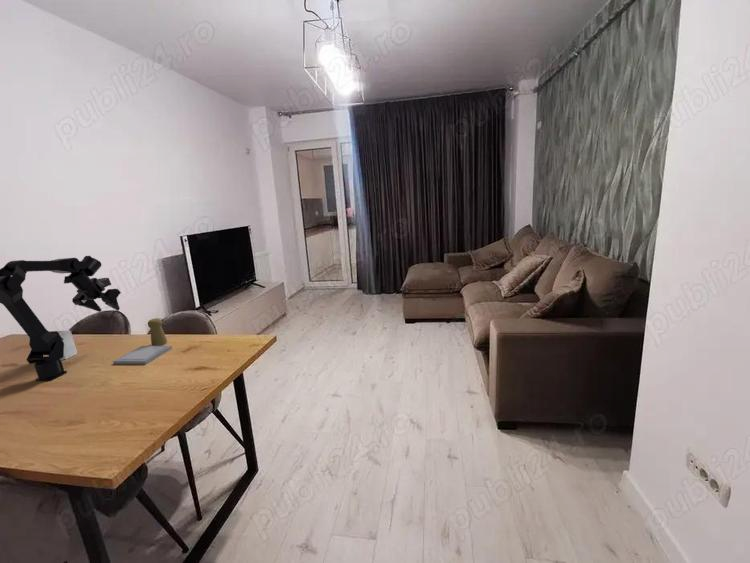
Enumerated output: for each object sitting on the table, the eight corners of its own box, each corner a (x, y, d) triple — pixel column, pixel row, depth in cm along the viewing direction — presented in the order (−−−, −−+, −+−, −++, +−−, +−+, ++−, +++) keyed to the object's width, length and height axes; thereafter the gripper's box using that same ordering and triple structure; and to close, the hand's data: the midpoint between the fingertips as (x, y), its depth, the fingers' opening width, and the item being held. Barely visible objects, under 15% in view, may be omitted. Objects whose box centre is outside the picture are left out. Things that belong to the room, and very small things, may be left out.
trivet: (146, 364, 135) (145, 360, 135) (113, 364, 138) (112, 360, 138) (172, 348, 149) (171, 345, 149) (142, 348, 151) (141, 345, 151)
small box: (78, 353, 151) (71, 330, 149) (65, 359, 146) (58, 335, 143) (60, 354, 152) (53, 330, 150) (47, 360, 147) (40, 335, 144)
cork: (152, 343, 157) (146, 318, 154) (168, 339, 159) (162, 315, 157) (150, 347, 152) (144, 322, 149) (167, 344, 154) (161, 319, 151)
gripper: (116, 269, 151) (138, 295, 161) (78, 272, 155) (103, 298, 165) (98, 287, 143) (123, 314, 153) (59, 290, 146) (86, 316, 157)
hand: (109, 310), depth 157 cm, fingers open, 9 cm apart
